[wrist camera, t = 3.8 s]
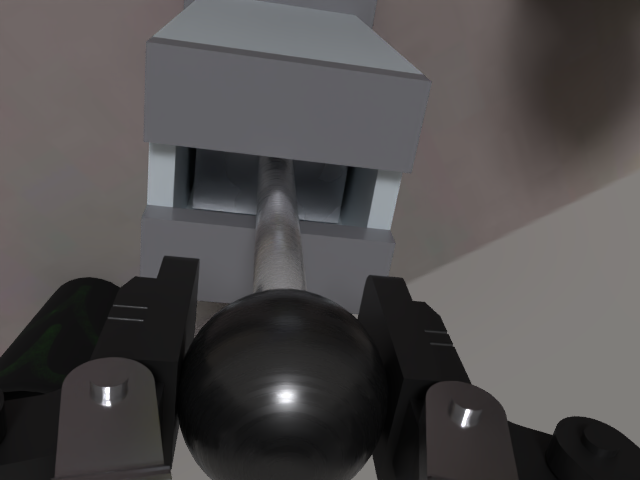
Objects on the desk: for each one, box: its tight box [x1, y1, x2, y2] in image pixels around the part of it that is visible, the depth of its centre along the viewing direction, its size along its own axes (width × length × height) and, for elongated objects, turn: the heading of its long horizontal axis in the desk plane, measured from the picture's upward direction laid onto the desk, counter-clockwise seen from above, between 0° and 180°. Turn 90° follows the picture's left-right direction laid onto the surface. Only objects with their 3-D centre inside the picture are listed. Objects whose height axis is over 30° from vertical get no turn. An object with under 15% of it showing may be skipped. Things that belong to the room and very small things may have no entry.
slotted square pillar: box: [140, 0, 432, 314], centre depth 27 cm, size 10×10×18 cm
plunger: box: [177, 148, 388, 480], centre depth 16 cm, size 6×6×17 cm
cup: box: [0, 277, 120, 401], centre depth 35 cm, size 8×8×12 cm
